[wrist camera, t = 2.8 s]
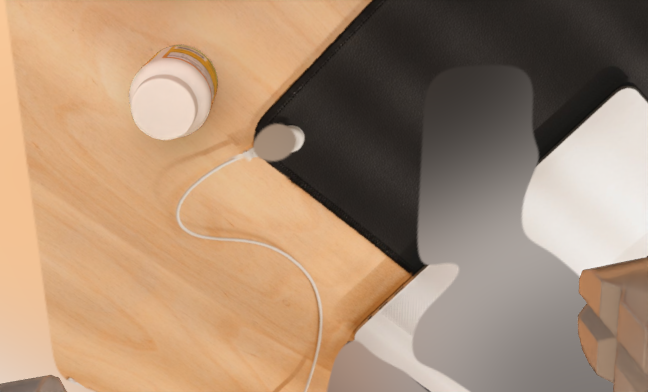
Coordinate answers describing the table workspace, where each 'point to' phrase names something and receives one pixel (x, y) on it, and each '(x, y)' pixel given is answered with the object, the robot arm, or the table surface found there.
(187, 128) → the supplement bottle
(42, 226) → the table surface
